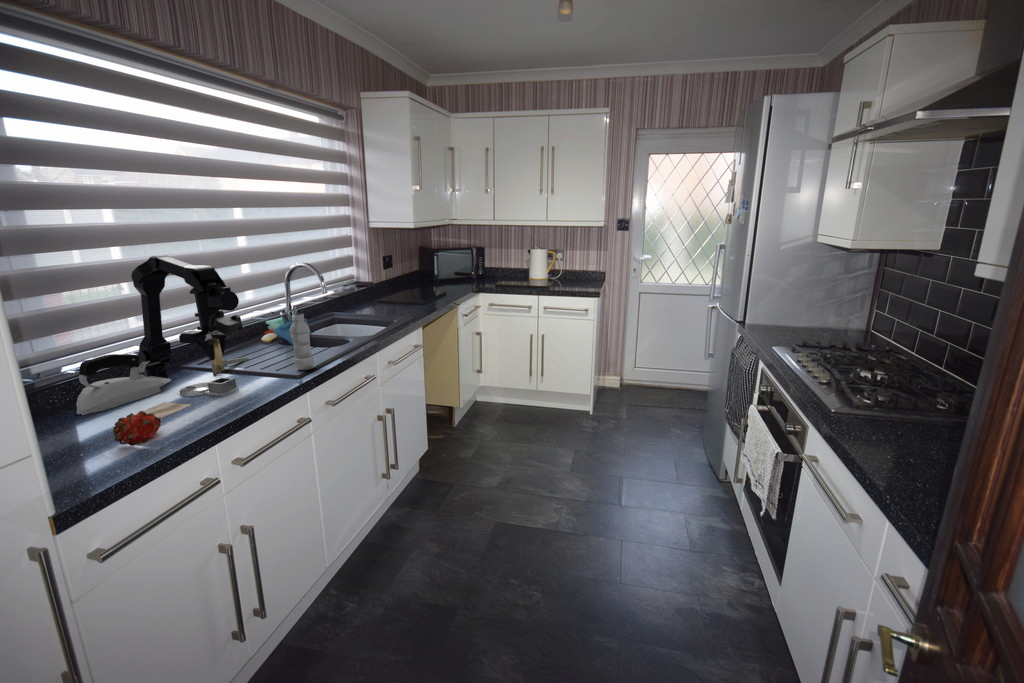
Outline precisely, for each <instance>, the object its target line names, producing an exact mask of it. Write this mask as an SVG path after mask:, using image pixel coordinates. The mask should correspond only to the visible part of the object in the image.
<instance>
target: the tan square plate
mask: <svg viewBox="0 0 1024 683" xmlns="http://www.w3.org/2000/svg"><path fill="white" fill-rule="evenodd" d="M190 406H191V404H188V403H178V402H177V403H174V402H165V401H164V402H163V403H160V404H158V405H155V406H153V407H150V408H147V409H145V410H143V411H144V412H145V413H146V414H151V413H153V414H154V415H155V416H156V417H157V418H159V419H163V418H165V417H167V416H170V415H171V414H175V413H176V412H178V411H179V412H180V411H181V410H183V409H185V408H188V407H190ZM136 414H137V413H136ZM136 414H135V413H134V415H136Z"/></svg>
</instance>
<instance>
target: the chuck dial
mask: <svg viewBox="0 0 1024 683" xmlns="http://www.w3.org/2000/svg"><path fill="white" fill-rule="evenodd" d="M236 382H237V381H236V378H235V377H223V376H221V377H219V378H216V379H213V380H211V381H208V382H199V383H194V384H191V385H187V386H185V387H183V388H181V389H180V390H179V396H181V397H189V398H192V397H200V396H204V395H205V396H215V397H216V396H217V397H218V396H219V397H225V396H227V395H228V396H229V395H230V394H232V393H234V392H237V391H239V386H237V383H236Z"/></svg>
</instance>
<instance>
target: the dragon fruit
mask: <svg viewBox="0 0 1024 683" xmlns="http://www.w3.org/2000/svg"><path fill="white" fill-rule="evenodd" d="M144 411H145V410H139V412H137V413H136V415H135V413H132V412H131V413H130V414H128V415H126V417H123V416H122V417H119V418H118V420H117V421H116V422H114V426H113V427H112V430H113V431H112V432H113V435H114V441H115V442H119V444H120V445H122V446H123V445H130V446H131V447H133V446H135V444H136V443H140V444H141V443H148V442H149V439H153V438H154V436H155V434H156V435H157V432H158V431H159V430H160V427H162V424H161V423H162V421H161V418H157V417H156V416H155V415H154V414H153V413H151V414H146V413H145V412H144ZM122 441H123V442H122Z"/></svg>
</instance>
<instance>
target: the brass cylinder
mask: <svg viewBox="0 0 1024 683" xmlns="http://www.w3.org/2000/svg"><path fill="white" fill-rule="evenodd" d="M213 339H215V341H214V343H213V348H214V355H215V360H211V365H212V364H213V369H214V372H220V373H221V372H223V371H225V370H226V369H225V368H226V367H224V362H223V360H224V358H223V357H224V355H223V356H222V351H221V345H220V339H219V338H213Z"/></svg>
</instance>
